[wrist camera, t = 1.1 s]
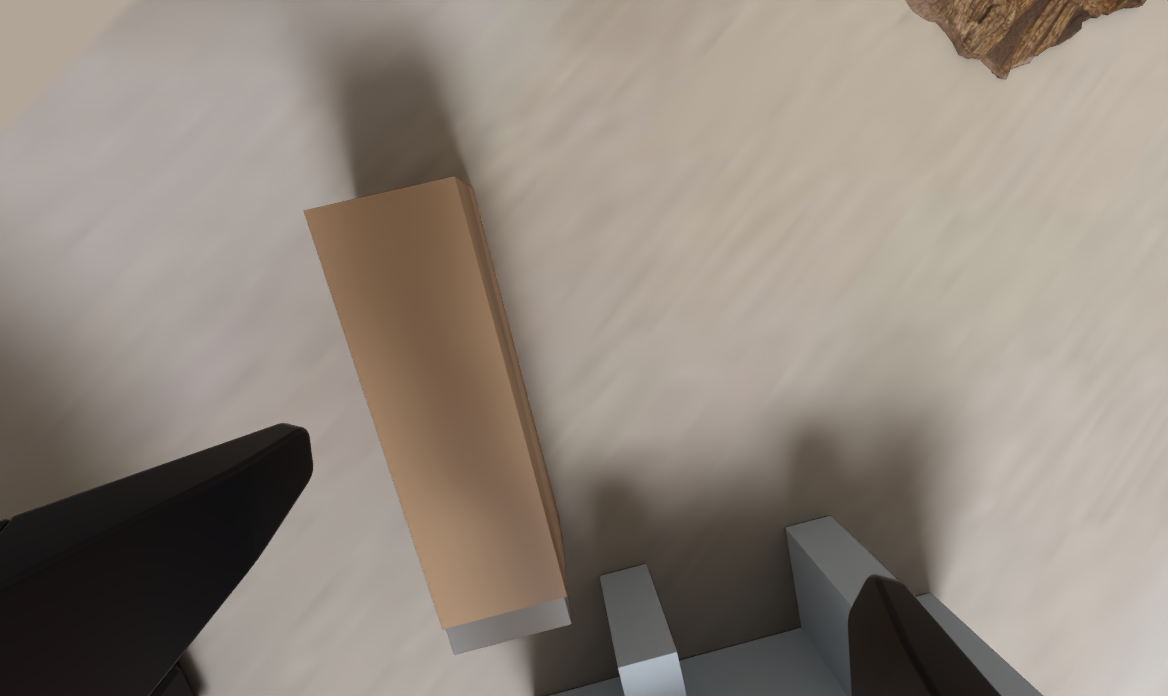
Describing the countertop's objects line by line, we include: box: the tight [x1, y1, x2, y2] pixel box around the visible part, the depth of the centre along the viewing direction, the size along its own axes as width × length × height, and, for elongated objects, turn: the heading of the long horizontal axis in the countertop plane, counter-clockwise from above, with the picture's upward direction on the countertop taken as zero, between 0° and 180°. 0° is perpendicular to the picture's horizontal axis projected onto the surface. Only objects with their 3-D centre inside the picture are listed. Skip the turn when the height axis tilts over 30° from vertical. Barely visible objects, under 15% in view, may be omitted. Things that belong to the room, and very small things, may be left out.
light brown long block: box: [304, 176, 571, 655], centre depth 19 cm, size 4×14×5 cm, turn 13°
